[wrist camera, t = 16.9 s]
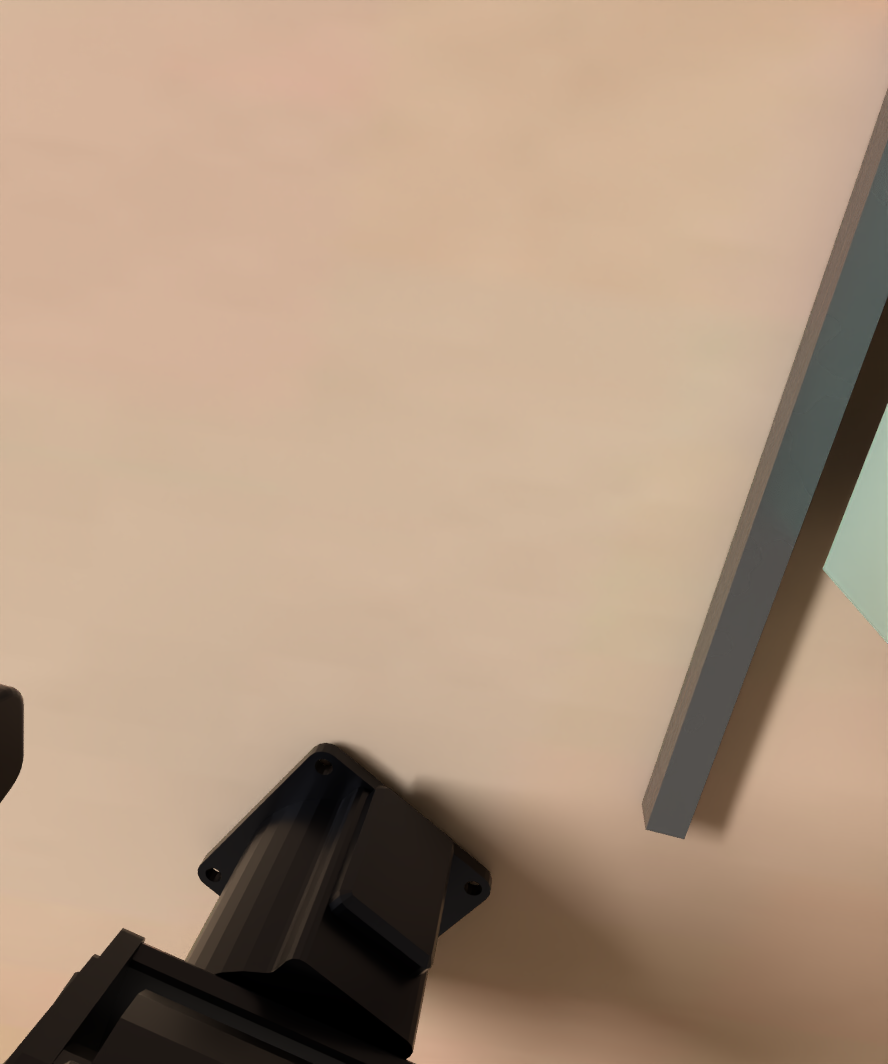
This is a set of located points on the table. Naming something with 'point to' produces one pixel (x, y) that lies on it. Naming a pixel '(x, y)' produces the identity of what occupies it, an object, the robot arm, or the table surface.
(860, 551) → the sage green storage bin
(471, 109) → the table surface
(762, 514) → the rails
